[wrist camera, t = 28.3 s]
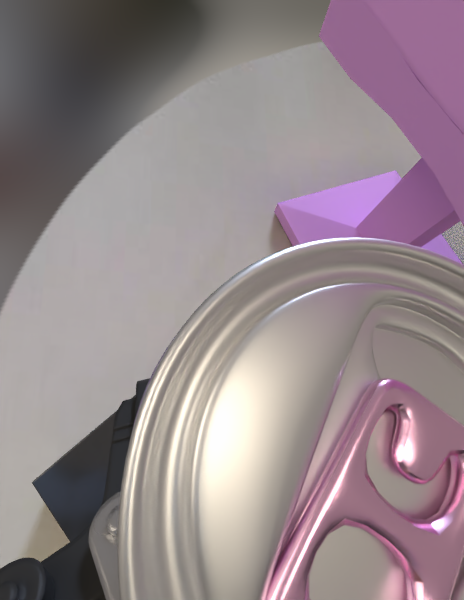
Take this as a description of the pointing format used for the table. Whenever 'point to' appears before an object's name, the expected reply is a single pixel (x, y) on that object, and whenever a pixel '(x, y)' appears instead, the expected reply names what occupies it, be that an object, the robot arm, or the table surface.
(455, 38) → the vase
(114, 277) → the table surface
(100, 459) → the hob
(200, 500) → the beverage can
